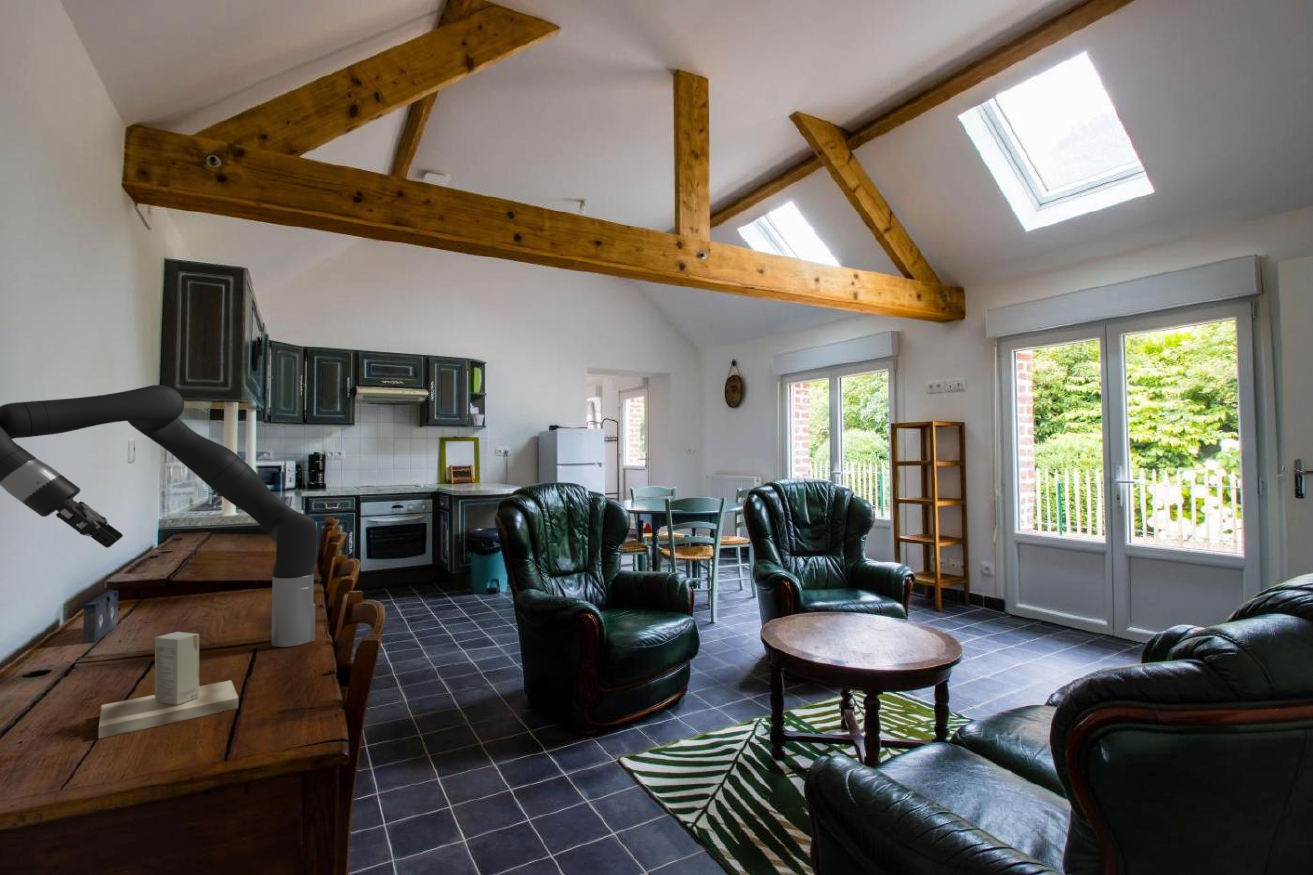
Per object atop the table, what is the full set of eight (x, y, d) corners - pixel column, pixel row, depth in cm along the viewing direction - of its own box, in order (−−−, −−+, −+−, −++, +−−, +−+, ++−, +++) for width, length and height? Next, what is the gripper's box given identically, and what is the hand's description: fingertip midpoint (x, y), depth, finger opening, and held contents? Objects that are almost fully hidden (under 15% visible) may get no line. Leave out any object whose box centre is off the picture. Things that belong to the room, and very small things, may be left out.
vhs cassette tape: (107, 626, 176) (107, 590, 176) (120, 625, 177) (121, 589, 178) (79, 644, 159) (81, 605, 160) (94, 643, 161) (95, 604, 161)
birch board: (230, 689, 129) (231, 680, 129) (238, 708, 120) (238, 697, 120) (101, 715, 116) (101, 704, 116) (98, 738, 107) (98, 726, 107)
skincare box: (200, 697, 120) (201, 633, 120) (176, 706, 116) (177, 639, 116) (176, 693, 122) (178, 630, 122) (152, 701, 118) (154, 636, 118)
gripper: (51, 474, 118) (129, 531, 124) (67, 472, 130) (137, 524, 136) (10, 504, 115) (92, 561, 121) (30, 499, 126) (104, 551, 133)
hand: (116, 541), depth 128 cm, fingers open, 8 cm apart
